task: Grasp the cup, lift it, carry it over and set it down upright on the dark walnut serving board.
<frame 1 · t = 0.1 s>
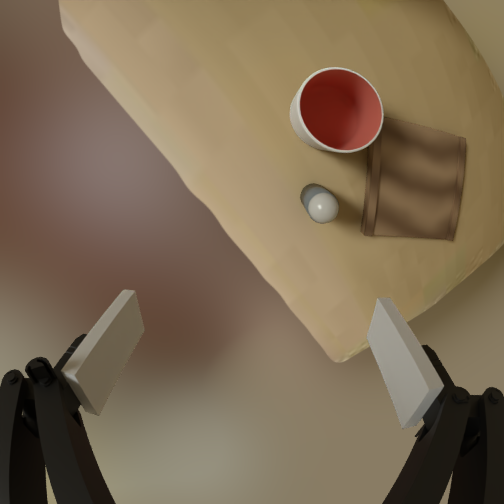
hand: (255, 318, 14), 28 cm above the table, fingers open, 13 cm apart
board: (415, 180, 37), on the table
shaker: (313, 196, 39), on the table
cup: (323, 116, 35), on the table
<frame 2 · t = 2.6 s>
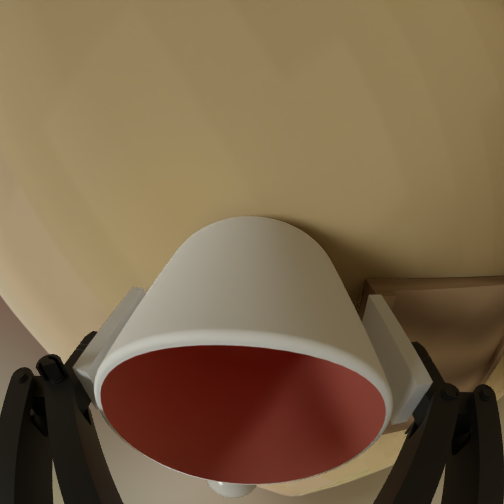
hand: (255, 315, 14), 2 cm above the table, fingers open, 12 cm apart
board: (429, 365, 19), on the table
shaker: (238, 406, 21), on the table
cup: (251, 289, 17), on the table
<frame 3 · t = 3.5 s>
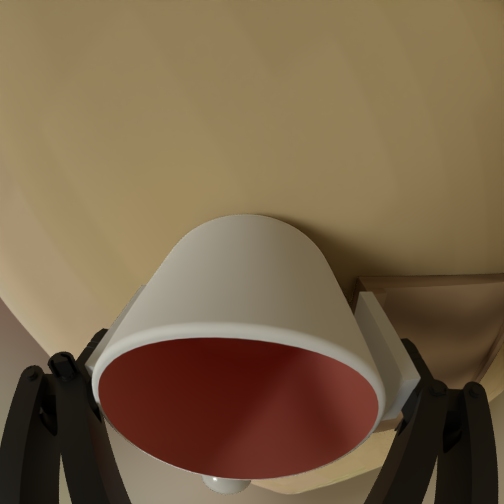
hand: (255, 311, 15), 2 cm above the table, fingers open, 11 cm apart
board: (423, 363, 19), on the table
shaker: (233, 403, 21), on the table
cup: (247, 287, 17), on the table, touching gripper
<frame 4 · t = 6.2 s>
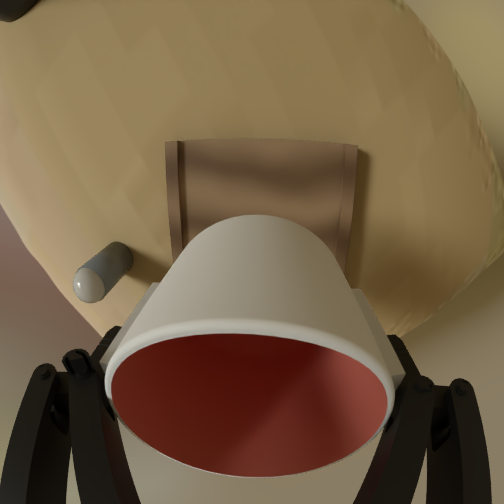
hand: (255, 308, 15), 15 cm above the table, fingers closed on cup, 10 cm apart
board: (260, 226, 29), on the table
shaker: (118, 257, 31), on the table
cup: (257, 287, 17), point 12 cm above the table, touching gripper
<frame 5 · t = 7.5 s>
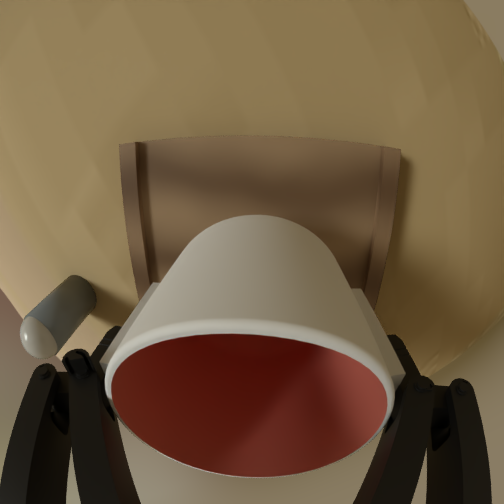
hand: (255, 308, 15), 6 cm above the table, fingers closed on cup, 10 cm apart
board: (257, 262, 20), on the table
shaker: (80, 293, 22), on the table
cup: (257, 287, 17), point 4 cm above the table, touching gripper
when the fingers open (3 cm above the table, at t = 8.6 s): cup stays where it is, resting on board.
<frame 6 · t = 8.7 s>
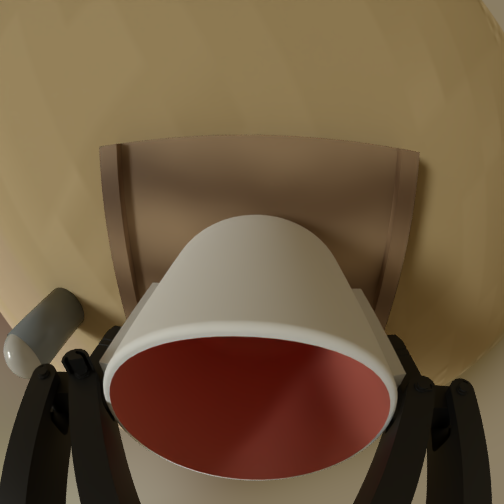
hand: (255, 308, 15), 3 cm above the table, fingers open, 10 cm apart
board: (256, 278, 18), on the table
shaker: (67, 306, 20), on the table
cup: (256, 287, 17), point 1 cm above the table, touching board
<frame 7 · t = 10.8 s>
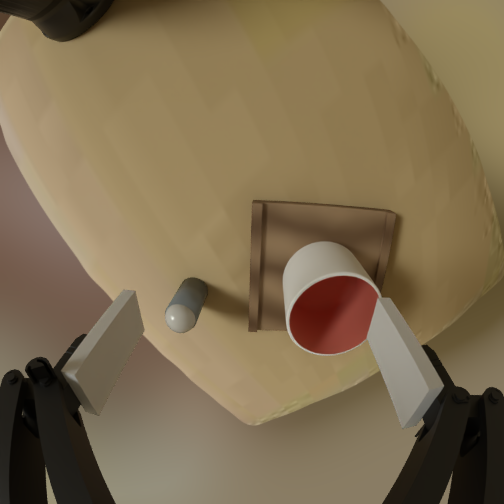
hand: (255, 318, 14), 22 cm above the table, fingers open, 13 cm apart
board: (318, 270, 36), on the table
shaker: (194, 290, 38), on the table
cup: (320, 274, 35), point 1 cm above the table, touching board
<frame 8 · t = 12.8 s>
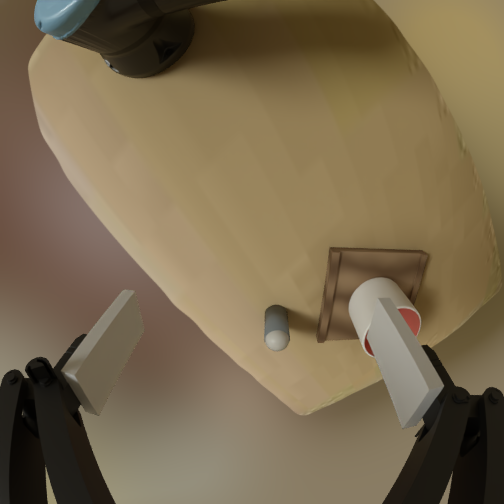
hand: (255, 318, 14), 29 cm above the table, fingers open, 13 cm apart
board: (370, 295, 46), on the table
shaker: (275, 314, 48), on the table
cup: (372, 298, 45), point 1 cm above the table, touching board
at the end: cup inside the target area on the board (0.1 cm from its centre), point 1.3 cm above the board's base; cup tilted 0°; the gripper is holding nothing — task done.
